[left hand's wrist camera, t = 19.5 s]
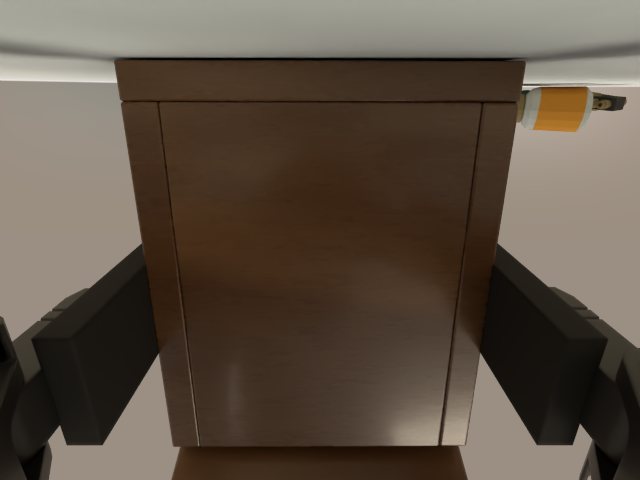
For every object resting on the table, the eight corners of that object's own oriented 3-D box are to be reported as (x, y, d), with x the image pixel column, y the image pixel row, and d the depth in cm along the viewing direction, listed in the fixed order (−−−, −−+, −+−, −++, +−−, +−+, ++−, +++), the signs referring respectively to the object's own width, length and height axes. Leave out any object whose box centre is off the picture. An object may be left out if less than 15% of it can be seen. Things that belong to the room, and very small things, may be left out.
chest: (388, 98, 25) (379, 253, 29) (249, 97, 25) (257, 253, 29) (527, 60, 8) (466, 447, 12) (112, 59, 8) (172, 447, 12)
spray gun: (635, 80, 43) (500, 78, 52) (609, 90, 32) (443, 85, 41) (623, 119, 45) (494, 110, 54) (594, 141, 34) (438, 125, 43)
